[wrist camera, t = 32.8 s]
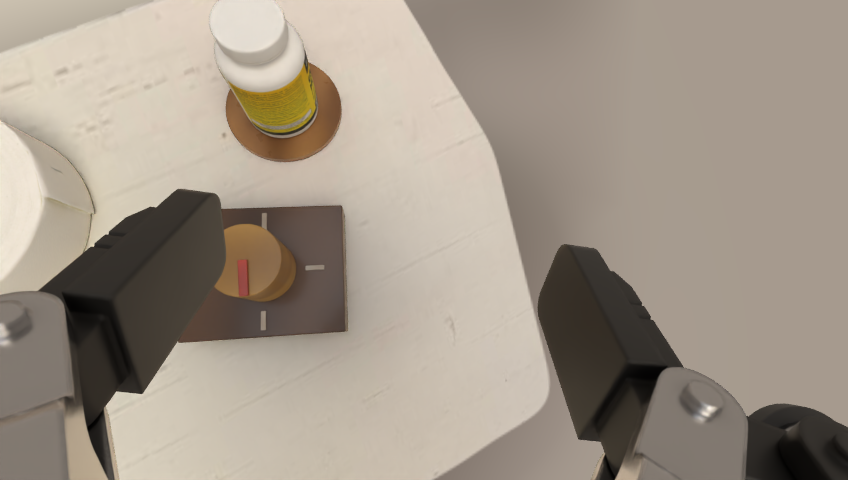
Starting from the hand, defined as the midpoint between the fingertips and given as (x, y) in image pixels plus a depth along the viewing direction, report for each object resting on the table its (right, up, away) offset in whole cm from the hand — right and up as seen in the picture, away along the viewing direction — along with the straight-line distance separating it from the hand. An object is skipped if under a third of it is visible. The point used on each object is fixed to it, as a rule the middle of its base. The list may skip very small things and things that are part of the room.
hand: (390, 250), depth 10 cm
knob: (-11, -2, +22) cm, 25 cm away
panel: (-12, -3, +25) cm, 28 cm away
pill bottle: (-12, +12, +27) cm, 32 cm away
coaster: (-12, +12, +28) cm, 33 cm away
